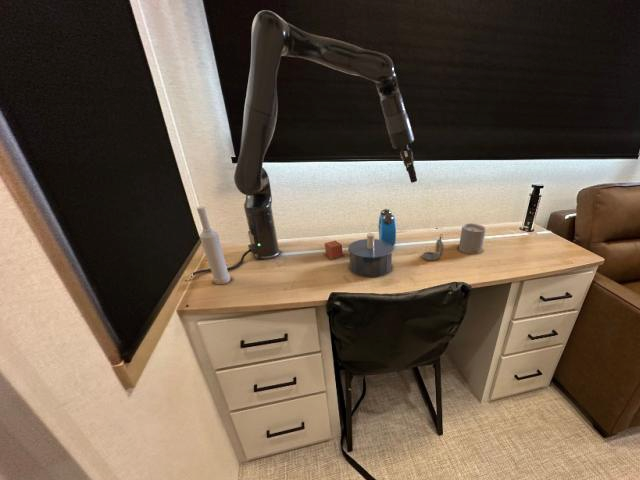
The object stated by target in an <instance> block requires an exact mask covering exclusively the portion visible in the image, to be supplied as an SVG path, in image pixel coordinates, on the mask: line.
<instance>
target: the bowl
mask: <svg viewBox="0 0 640 480" xmlns="http://www.w3.org/2000/svg"><path fill="white" fill-rule="evenodd" d="M348 254H349V257H348V258H349V268H350V270H351V272H352V273H353V274H355V275H357V276H361V277H366V278H376V277H377V278H378V277H381V276H385V275H387V274H388V273H390V272H391V270H392V261H393V260H392V259H393V252H392V253H391V254H390V255H388V256H386V257H383V258H377V259H365V258H360V257H356V256H354V255H352V254H351V253H350V252H349V251H348Z"/></svg>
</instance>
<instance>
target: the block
mask: <svg viewBox="0 0 640 480" xmlns="http://www.w3.org/2000/svg"><path fill="white" fill-rule="evenodd" d="M324 252H325V256H327V257H328V258H329V259H331V260H334V259H336V258H337V259H338V258H340V257H343V244H342V243H340V242H339V241H337V240H333V241H328V242H324Z"/></svg>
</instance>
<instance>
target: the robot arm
mask: <svg viewBox="0 0 640 480" xmlns="http://www.w3.org/2000/svg"><path fill="white" fill-rule="evenodd" d="M250 51H251V52H250V68H249V74H248V82H247V88H246V94H245V95H246V97H245V100H244V101H245V102H244V110H243V118H242V120H243V121H242V129H241V139H240V148H239V155H238V159H237V162H236V166H235V171H234V174H233V175H234V176H233V181H234V184H235V187H236V188H237V190H238V192H240V193H241V194H242V195H244V196H245V200H244V203H243V208H244V213H245V219H246V223H247V226H248V231H247V234H248V239H249V242H250V244H247V247H248V248H247V249H248V250H247V251H245V252H244V253H243V254H242V256H241V258H240V260H239V262H237V264H235V265H233V266H230V267H227V270H228V271H230V270H234V269H237V268H238V267H240V265H241V264H242V263H243V262H244V259H245V257H246V256H247V255H248V254H250V253H251V254H252V255H253V256H254V257H255V258H256V259H258V260H261V259H263V260H266V259H267V260H268V259H273V258H276V257H277V256H279V255H280V253H281V252H280V247H279V242H278V236H277V231H276V225H275V219H274V214H273V208H272V204H273V198H272V197H273V195H272V189H271V181H270V177H269V175H268V172H267V170H266V169H265V168H264V167H263V166H264V165H263V164H264V158H265V155H266V153H267V151H268V148H269V146H270V144H271V141H272V139H273V136H274V133H275V129H276V124H277V119H278V111H279V99H278V87H277V85H278V83H277V82H278V81H277V79H278V72H279V67H280V63H281V59H282V58H281V57H289V58H290V57H291V58H299V59H304V60H308V61H311V62H315V63H317V64H320V65H322V66H325V67H328V68H329V69H333V70H335V71H339V72H341V73H344V74H348V75H351V76H356V77H357V76H358V77H361V78H364V79H367V80H369V81H371V82H374V85H375V87H376V91H377V94H378V97H379V103H380V107H381V110H382V114H383V117H384V121H385V126H386V130H387V132H388V137H389V138H390V143H391V145H392V148H393V149H399V148H400V150H401V151H400V152H399V155H400V158H401V160H402V163H403V166H404V167H405V170H406V172H407V173H408V177H409V181H410V183H412V184H413V183H416V182H417V181H418V178H417V171H416V169H415V165H414V164H415V160H414V156H413V154H414V153H413V150H412V148H410V144H412V143H413V142H414V141H415V136H414V132H413V130H412V125H411V121H410V118H409V114H408V113H407V110H406V106H405V103H404V99H403V95H402V94H401V91H400V88H399V84H398V78H397V75H396V71H395V65H394V63H393V60H392V59H391V57H390V56H389V55H387V54H385V53H382V52H379V51H374V50H371V49H365V48H362V47H360V46H358V45H355V44H352V43H348V42H345V41H342V40H338V39H336V38H331V37H326V36H321V35H316V34H313V33H311V32H310V33H309V32H306V31H304V30H302V29H300V28H298V27H296V26H294V25H293V24H290V23H289V22H288V21H287V22H286V21H285V20H284V18H282V17H281V16H279V15H278V14H277V13H275V12H273V11H271V10H268V9H264V10H261V11H258V13H257V14H256V15H255V16H254V18H253V21H252V25H251V49H250ZM206 272H211V269H210V268H206V269H201V270H196V271H194V272H192V273H193V276H196V275H197V274H201V273H206ZM193 276H191V278H193Z"/></svg>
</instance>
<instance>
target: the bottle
mask: <svg viewBox="0 0 640 480" xmlns="http://www.w3.org/2000/svg"><path fill="white" fill-rule="evenodd" d="M196 211H197V214H198V216H199V221H200V223H201V227H202V232H200V233H199V236H198V237H199V239H200V242H201V245H202V248H203V251H204V254H205V257H206V260H207V263H208V266H209V269H211V271H210V272H211V275H212V280H213V282H214V284H217V285H224V284H227V283H229V282H230V281H231V275H230V273H229V270H227V268H228V267H227V263H226V259H225V255H224V250H223V247H222V244H221V243H222V242H221V239H220V236H219V233H218V232H217V231H215V230H213V228H212V227H211V225H210V222H209V219H208V215H207V211H206V208H205V206H197V207H196Z"/></svg>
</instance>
